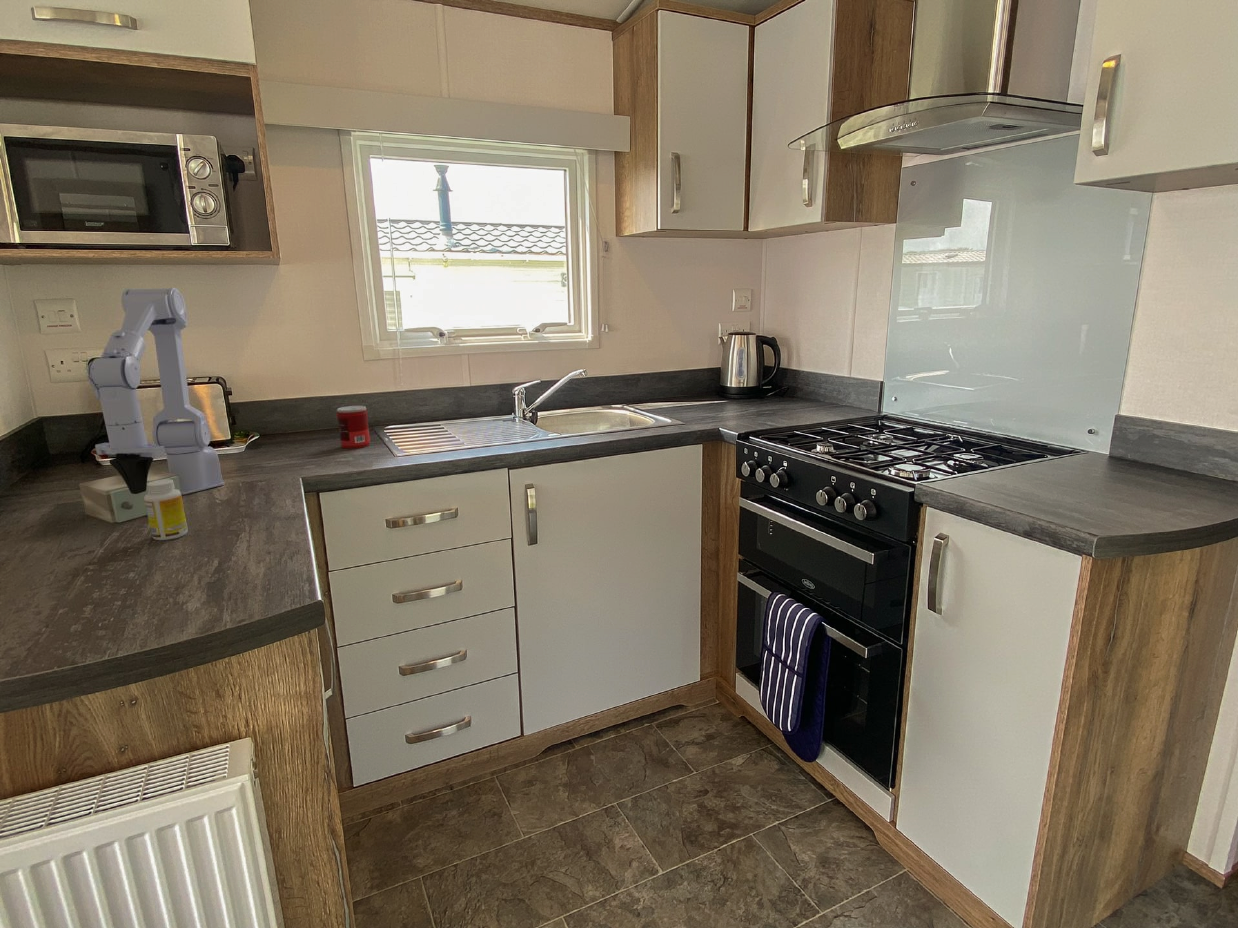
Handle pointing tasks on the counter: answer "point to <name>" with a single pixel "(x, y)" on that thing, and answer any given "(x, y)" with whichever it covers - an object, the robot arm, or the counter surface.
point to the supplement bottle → (165, 510)
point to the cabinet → (99, 493)
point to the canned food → (353, 427)
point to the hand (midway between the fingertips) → (138, 492)
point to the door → (133, 502)
